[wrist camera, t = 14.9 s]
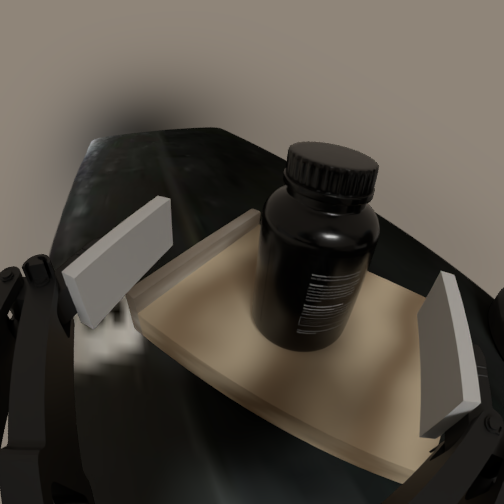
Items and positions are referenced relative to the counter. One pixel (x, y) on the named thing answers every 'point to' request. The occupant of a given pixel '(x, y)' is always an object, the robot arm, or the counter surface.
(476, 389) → the robot arm
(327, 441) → the shelf board
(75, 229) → the counter surface
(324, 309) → the supplement bottle
